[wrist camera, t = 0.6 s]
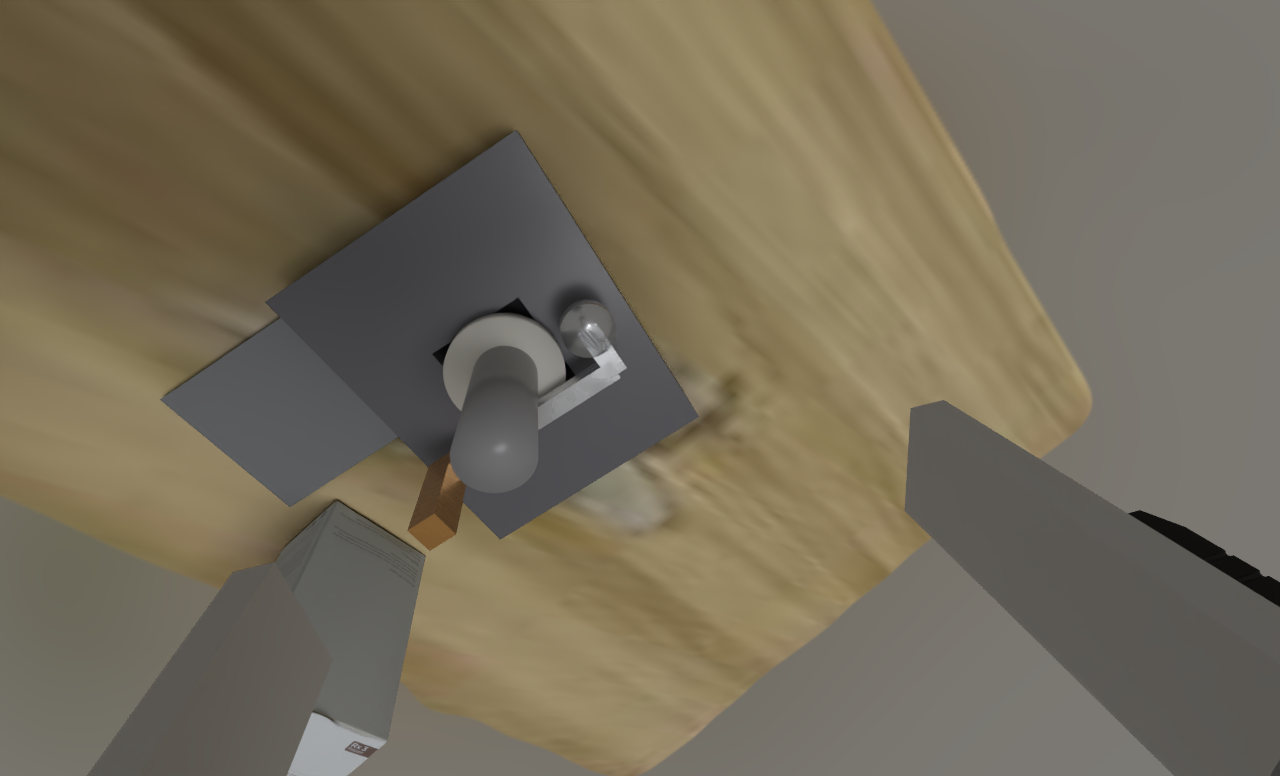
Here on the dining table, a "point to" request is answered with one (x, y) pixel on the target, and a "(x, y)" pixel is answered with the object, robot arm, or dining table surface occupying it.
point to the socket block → (469, 289)
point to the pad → (281, 414)
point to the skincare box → (352, 632)
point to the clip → (583, 335)
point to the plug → (499, 397)
